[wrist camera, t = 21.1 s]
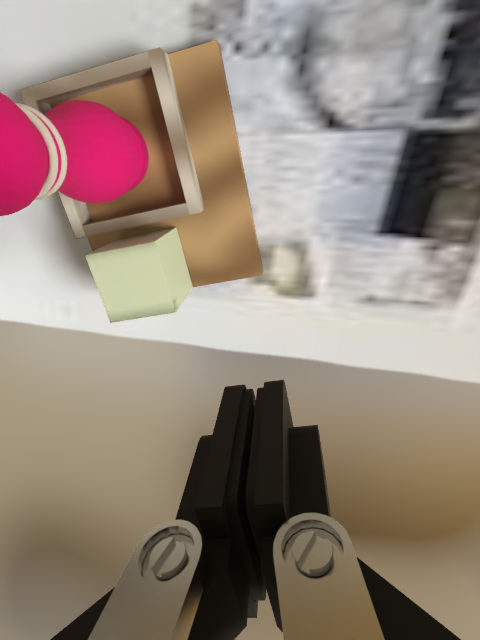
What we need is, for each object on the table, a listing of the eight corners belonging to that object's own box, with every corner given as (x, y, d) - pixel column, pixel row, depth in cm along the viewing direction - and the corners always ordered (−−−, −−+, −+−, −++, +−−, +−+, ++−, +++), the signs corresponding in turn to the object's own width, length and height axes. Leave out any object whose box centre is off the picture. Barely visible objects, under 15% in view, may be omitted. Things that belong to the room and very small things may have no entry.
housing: (117, 239, 35) (85, 255, 29) (176, 227, 34) (154, 241, 28) (137, 297, 37) (110, 322, 32) (192, 287, 36) (175, 312, 31)
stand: (45, 96, 32) (10, 87, 28) (219, 45, 29) (209, 27, 25) (117, 296, 39) (98, 312, 35) (263, 270, 37) (260, 285, 32)
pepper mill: (60, 128, 32) (-238, 90, 14) (131, 92, 30) (-102, -7, 12) (100, 209, 34) (-106, 268, 16) (168, 180, 33) (23, 209, 14)
